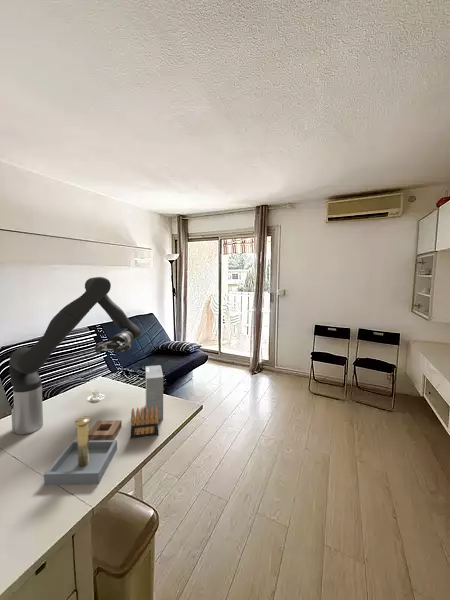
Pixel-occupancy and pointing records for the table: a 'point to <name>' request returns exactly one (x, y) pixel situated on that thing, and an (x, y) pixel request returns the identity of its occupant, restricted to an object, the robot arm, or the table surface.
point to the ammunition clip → (144, 423)
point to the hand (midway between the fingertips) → (107, 350)
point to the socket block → (105, 430)
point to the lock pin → (83, 440)
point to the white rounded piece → (95, 396)
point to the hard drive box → (154, 389)
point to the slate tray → (71, 473)
